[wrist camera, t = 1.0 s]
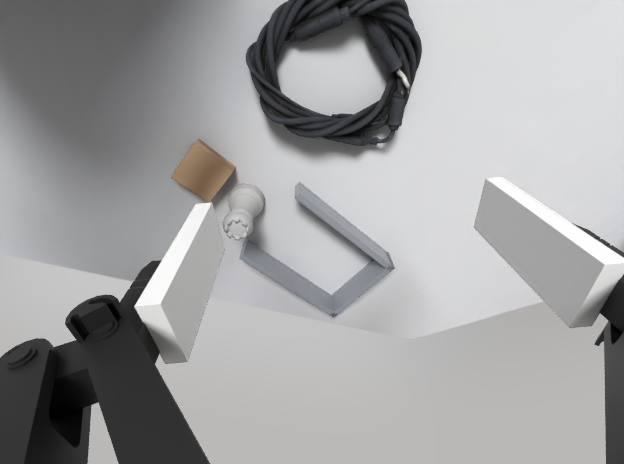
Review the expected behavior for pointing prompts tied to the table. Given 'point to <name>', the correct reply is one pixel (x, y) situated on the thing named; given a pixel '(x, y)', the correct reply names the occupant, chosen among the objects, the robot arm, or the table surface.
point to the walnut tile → (203, 171)
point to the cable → (315, 20)
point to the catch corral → (308, 289)
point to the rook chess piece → (243, 210)
